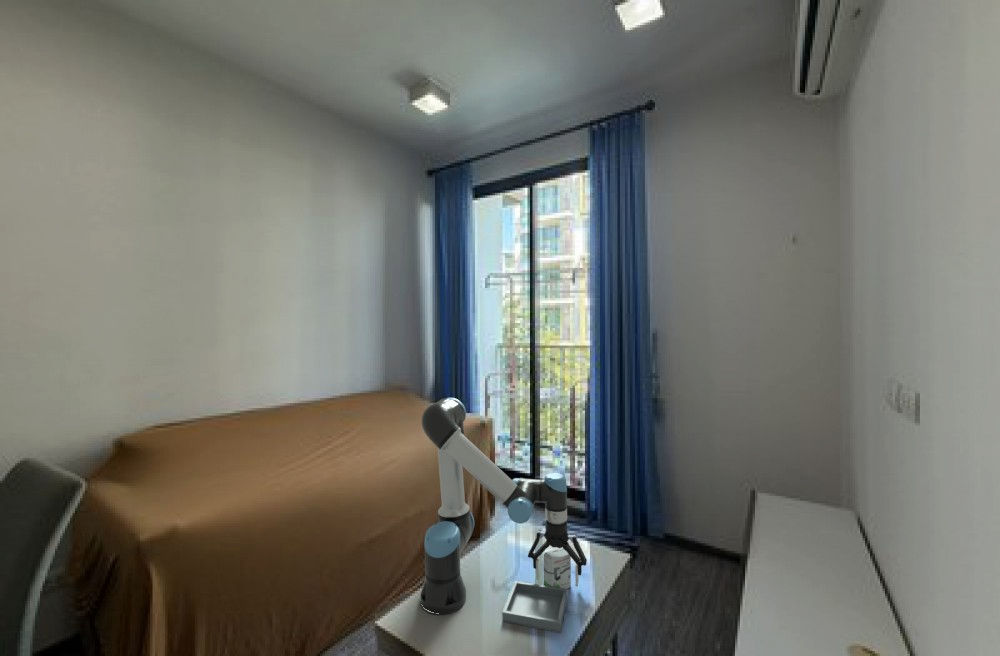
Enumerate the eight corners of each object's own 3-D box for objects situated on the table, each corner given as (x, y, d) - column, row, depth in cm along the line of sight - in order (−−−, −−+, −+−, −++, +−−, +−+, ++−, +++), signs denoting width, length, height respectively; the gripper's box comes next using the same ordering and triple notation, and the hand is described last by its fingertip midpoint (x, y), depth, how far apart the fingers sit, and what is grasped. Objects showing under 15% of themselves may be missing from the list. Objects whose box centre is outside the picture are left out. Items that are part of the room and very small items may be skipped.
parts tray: (502, 621, 125) (502, 612, 125) (514, 589, 141) (514, 580, 141) (560, 633, 120) (560, 622, 120) (567, 598, 136) (567, 589, 136)
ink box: (551, 595, 138) (551, 560, 137) (543, 587, 142) (542, 553, 142) (571, 587, 142) (571, 553, 142) (562, 579, 146) (562, 546, 146)
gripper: (518, 520, 142) (520, 581, 142) (592, 529, 135) (593, 593, 135) (523, 510, 149) (524, 568, 149) (593, 518, 142) (594, 579, 142)
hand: (557, 580), depth 142 cm, fingers open, 13 cm apart
